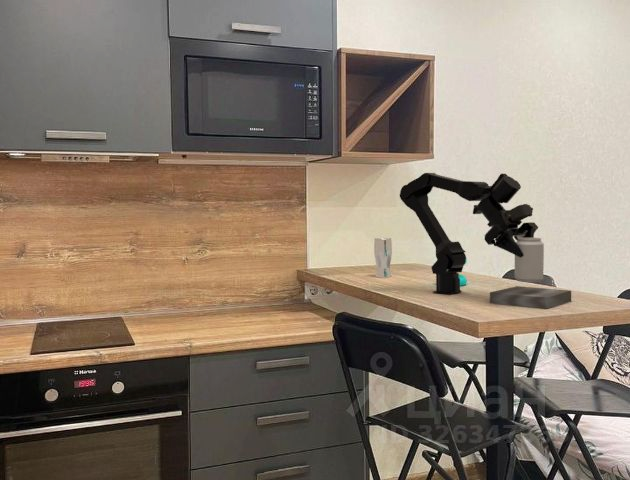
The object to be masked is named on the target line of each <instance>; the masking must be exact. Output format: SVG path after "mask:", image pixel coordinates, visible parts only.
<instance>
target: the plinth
mask: <svg viewBox="0 0 630 480" xmlns="http://www.w3.org/2000/svg"><path fill="white" fill-rule="evenodd" d="M570 302H572V290H570V289H569V290H567V289H558V288H557V289H556V288H542V287H531V286H520V285H519V286H518V285H515V286H511V287H508V288H503V289H498V290H494V291H490V292H489V304H495V305H505V306H513V307H523V308H533V309H541V310H542V309H543V310H548V309H551V308H556V307H559V306H561V305H564V304H568V303H570Z"/></svg>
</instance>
